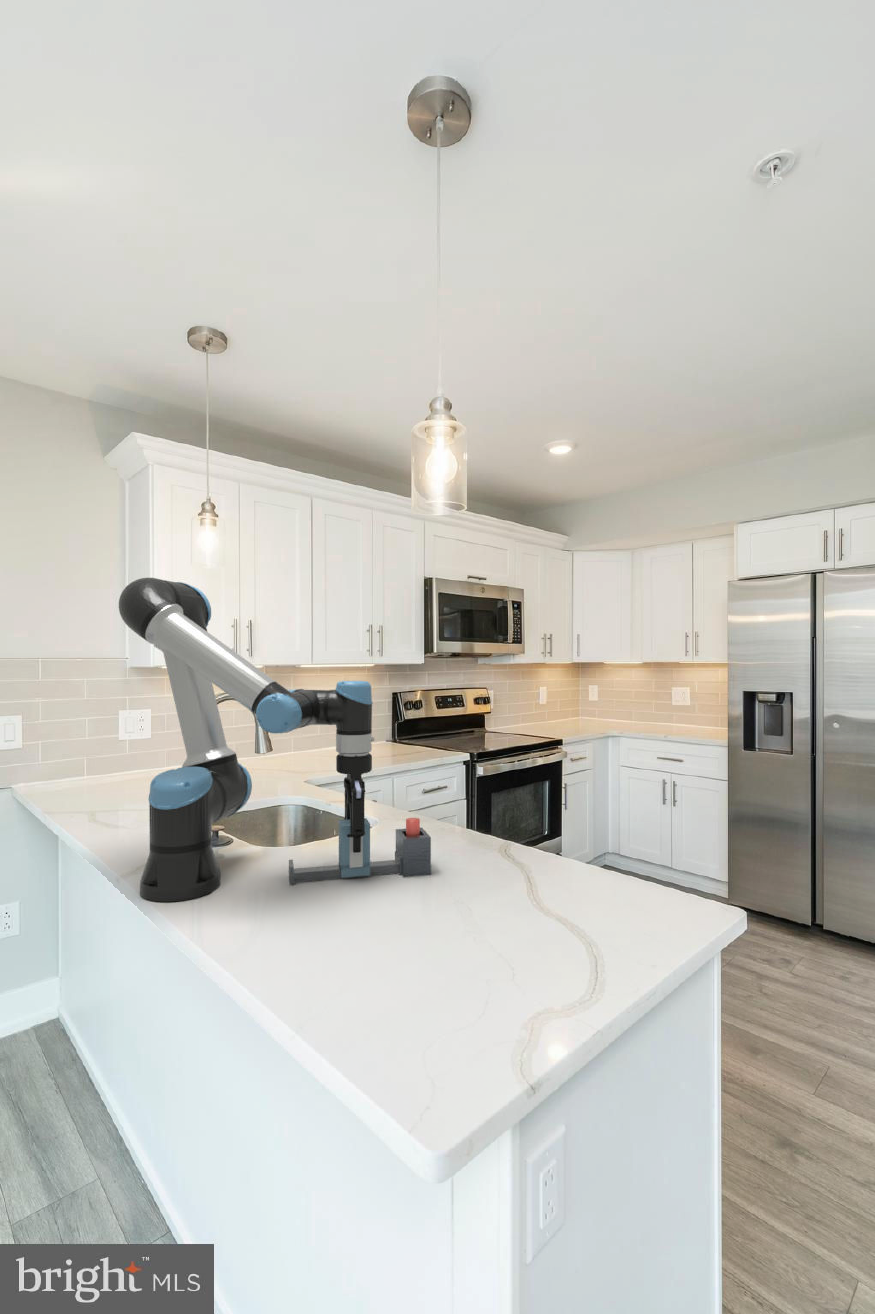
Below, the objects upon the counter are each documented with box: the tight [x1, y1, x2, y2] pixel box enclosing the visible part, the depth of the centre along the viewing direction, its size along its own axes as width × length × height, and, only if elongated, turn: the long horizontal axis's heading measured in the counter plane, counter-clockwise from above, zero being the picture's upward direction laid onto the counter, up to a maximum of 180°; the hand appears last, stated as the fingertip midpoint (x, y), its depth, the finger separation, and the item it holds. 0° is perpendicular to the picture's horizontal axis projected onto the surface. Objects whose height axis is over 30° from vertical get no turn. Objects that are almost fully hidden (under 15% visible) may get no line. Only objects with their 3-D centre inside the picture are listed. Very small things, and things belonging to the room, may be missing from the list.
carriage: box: [338, 817, 371, 879], centre depth 137 cm, size 6×5×11 cm
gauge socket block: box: [395, 826, 432, 878], centre depth 140 cm, size 6×8×8 cm
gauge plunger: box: [405, 817, 421, 836], centre depth 140 cm, size 3×3×6 cm
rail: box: [288, 850, 402, 886], centre depth 136 cm, size 24×5×4 cm, turn 105°
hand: (354, 862), depth 137 cm, fingers closed on carriage, 5 cm apart
